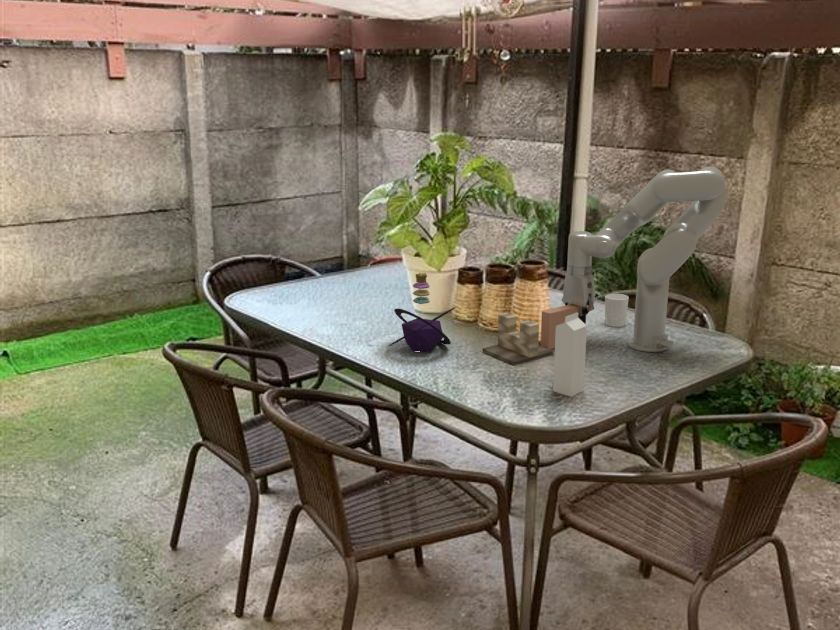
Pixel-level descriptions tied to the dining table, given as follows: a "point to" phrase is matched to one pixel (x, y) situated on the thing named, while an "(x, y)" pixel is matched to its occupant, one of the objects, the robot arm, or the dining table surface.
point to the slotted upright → (517, 341)
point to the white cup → (616, 309)
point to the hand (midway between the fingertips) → (576, 324)
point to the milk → (570, 356)
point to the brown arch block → (554, 323)
